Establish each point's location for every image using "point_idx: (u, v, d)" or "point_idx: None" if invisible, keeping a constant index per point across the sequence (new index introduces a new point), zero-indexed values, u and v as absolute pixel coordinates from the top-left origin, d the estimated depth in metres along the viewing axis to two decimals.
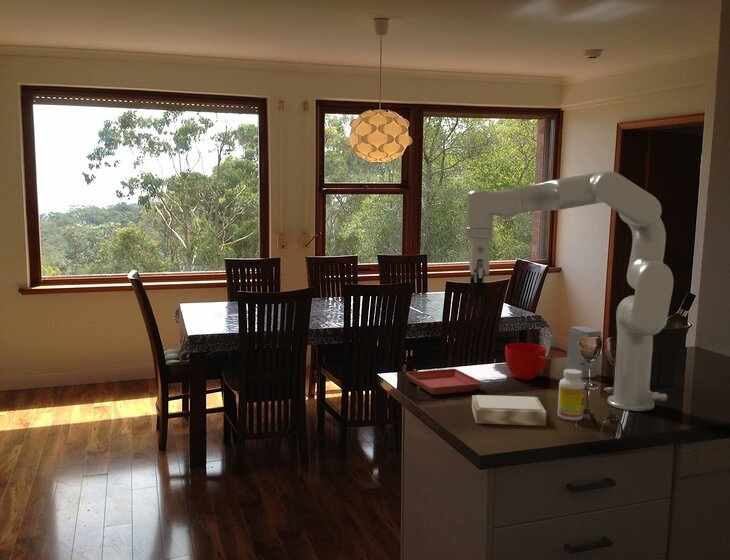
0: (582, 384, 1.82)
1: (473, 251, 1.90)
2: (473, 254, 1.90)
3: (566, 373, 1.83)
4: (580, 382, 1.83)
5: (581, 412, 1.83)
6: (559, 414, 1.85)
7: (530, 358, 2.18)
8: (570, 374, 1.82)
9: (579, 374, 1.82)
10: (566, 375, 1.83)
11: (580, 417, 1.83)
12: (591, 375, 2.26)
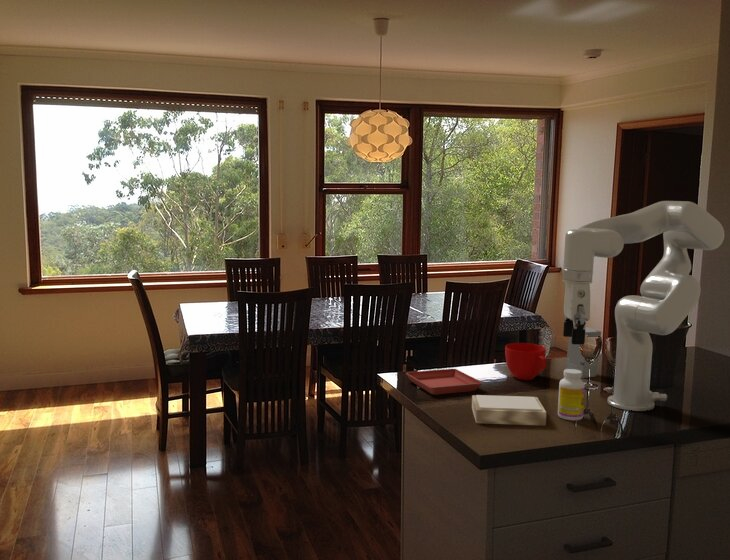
0: (582, 384, 1.82)
1: (573, 295, 1.77)
2: (573, 298, 1.77)
3: (566, 373, 1.83)
4: (580, 382, 1.83)
5: (581, 412, 1.83)
6: (559, 414, 1.85)
7: (530, 358, 2.18)
8: (570, 374, 1.82)
9: (579, 374, 1.82)
10: (566, 375, 1.83)
11: (580, 417, 1.83)
12: (591, 375, 2.26)
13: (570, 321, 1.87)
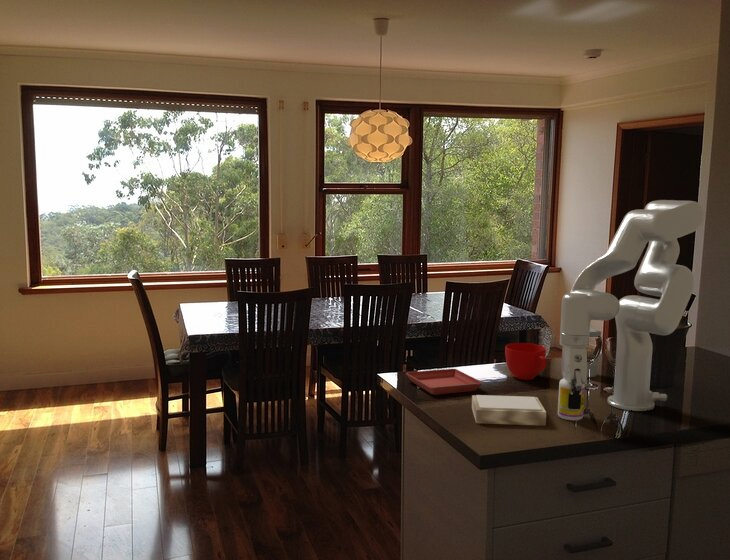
0: (582, 384, 1.82)
1: (570, 360, 1.79)
2: (570, 363, 1.79)
3: None
4: None
5: (581, 412, 1.83)
6: (559, 414, 1.85)
7: (530, 358, 2.18)
8: None
9: None
10: None
11: (580, 417, 1.83)
12: (591, 375, 2.26)
13: None
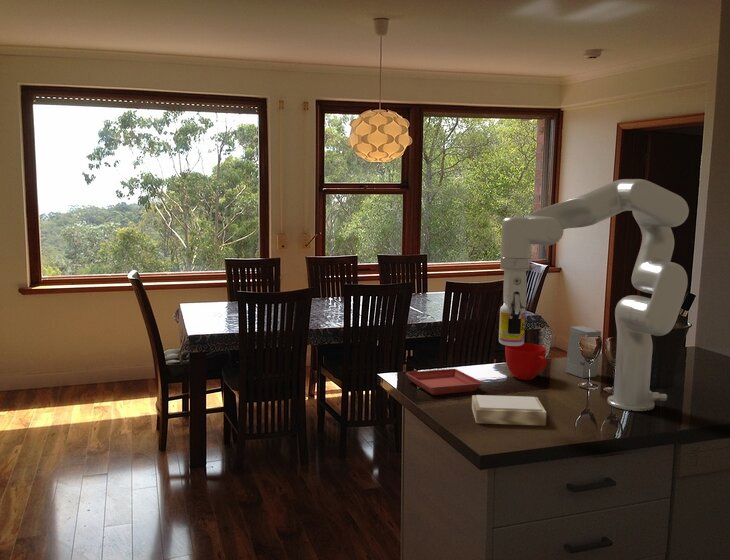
0: (522, 309, 1.80)
1: (509, 283, 1.77)
2: (509, 286, 1.77)
3: None
4: None
5: (521, 337, 1.80)
6: (500, 340, 1.82)
7: (530, 358, 2.18)
8: None
9: None
10: None
11: (520, 342, 1.80)
12: (591, 375, 2.26)
13: None
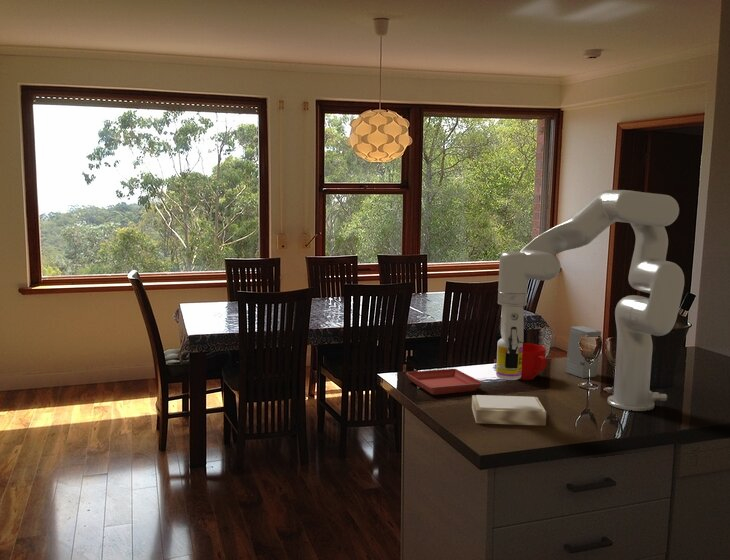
0: (519, 343, 1.81)
1: (506, 318, 1.78)
2: (506, 321, 1.78)
3: None
4: None
5: (518, 371, 1.82)
6: (497, 374, 1.83)
7: (530, 358, 2.18)
8: None
9: None
10: None
11: (517, 376, 1.82)
12: (591, 375, 2.26)
13: None
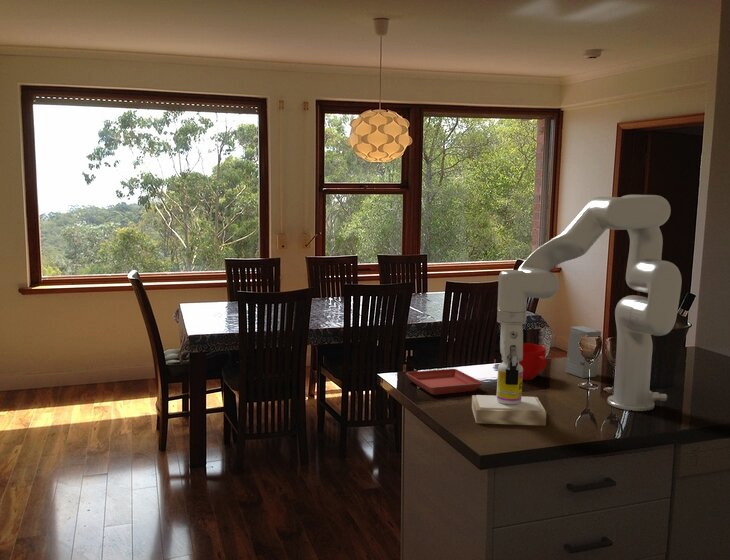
0: (520, 368, 1.82)
1: (506, 336, 1.79)
2: (506, 339, 1.79)
3: None
4: (518, 366, 1.82)
5: (519, 396, 1.83)
6: (497, 398, 1.85)
7: (530, 358, 2.18)
8: None
9: None
10: None
11: (518, 401, 1.83)
12: (591, 375, 2.26)
13: None
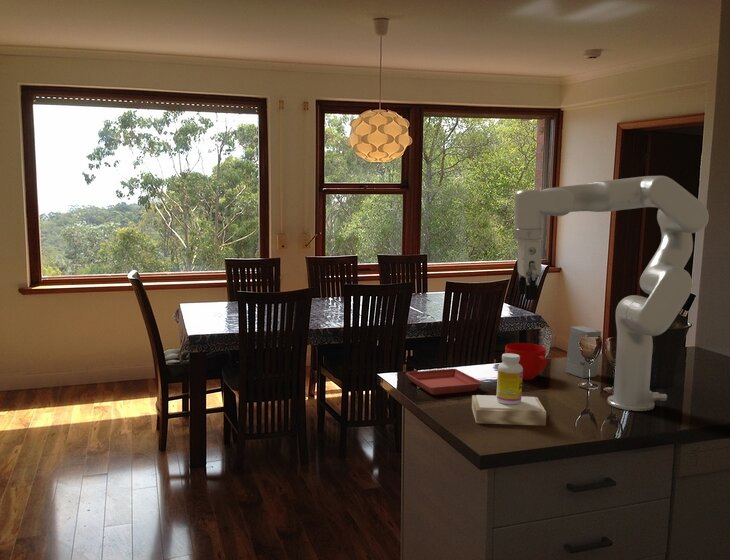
0: (520, 368, 1.82)
1: (524, 253, 1.84)
2: (524, 256, 1.84)
3: (504, 357, 1.83)
4: (518, 366, 1.82)
5: (519, 396, 1.83)
6: (497, 398, 1.85)
7: (530, 358, 2.18)
8: (508, 358, 1.82)
9: (517, 358, 1.82)
10: (504, 359, 1.83)
11: (518, 401, 1.83)
12: (591, 375, 2.26)
13: (524, 279, 1.94)
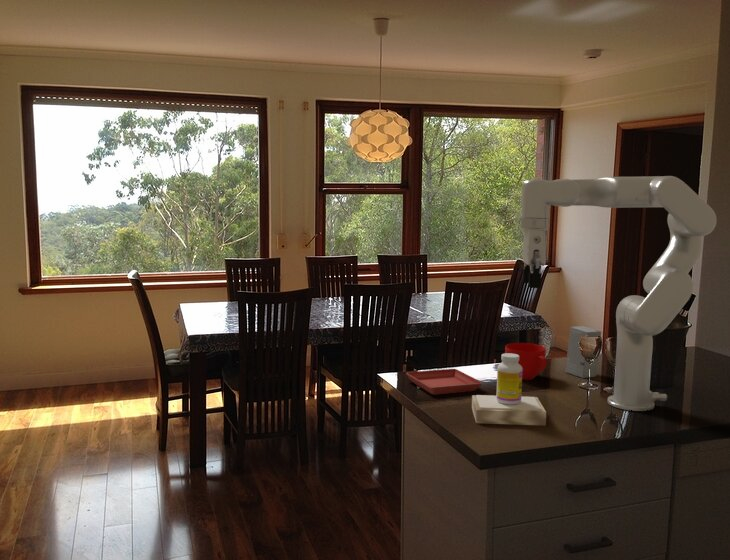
0: (519, 368, 1.82)
1: (529, 241, 1.87)
2: (529, 244, 1.87)
3: (503, 357, 1.83)
4: (517, 366, 1.82)
5: (519, 396, 1.83)
6: (497, 398, 1.85)
7: (530, 358, 2.18)
8: (507, 358, 1.82)
9: (516, 358, 1.82)
10: (503, 359, 1.83)
11: (518, 401, 1.83)
12: (591, 375, 2.26)
13: (529, 268, 1.97)
